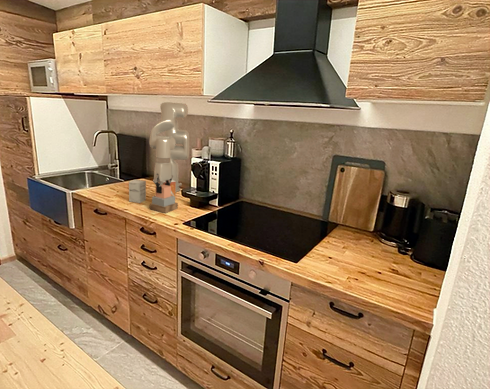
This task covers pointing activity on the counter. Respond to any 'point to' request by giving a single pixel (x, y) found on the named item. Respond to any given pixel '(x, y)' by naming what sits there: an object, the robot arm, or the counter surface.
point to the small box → (173, 187)
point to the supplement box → (137, 191)
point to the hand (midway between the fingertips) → (163, 191)
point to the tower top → (163, 201)
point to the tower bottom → (163, 208)
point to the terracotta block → (164, 192)
